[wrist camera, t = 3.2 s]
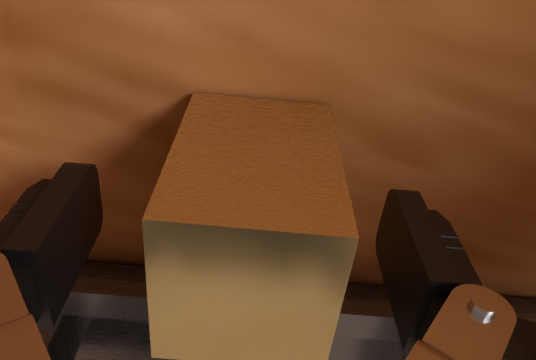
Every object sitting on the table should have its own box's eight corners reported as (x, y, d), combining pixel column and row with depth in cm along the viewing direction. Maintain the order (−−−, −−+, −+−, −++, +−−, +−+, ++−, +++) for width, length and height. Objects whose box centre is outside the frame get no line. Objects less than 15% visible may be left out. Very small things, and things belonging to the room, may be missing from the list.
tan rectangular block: (193, 92, 14) (142, 219, 9) (330, 105, 14) (359, 238, 9) (192, 203, 16) (151, 357, 11) (310, 213, 16) (325, 370, 11)
